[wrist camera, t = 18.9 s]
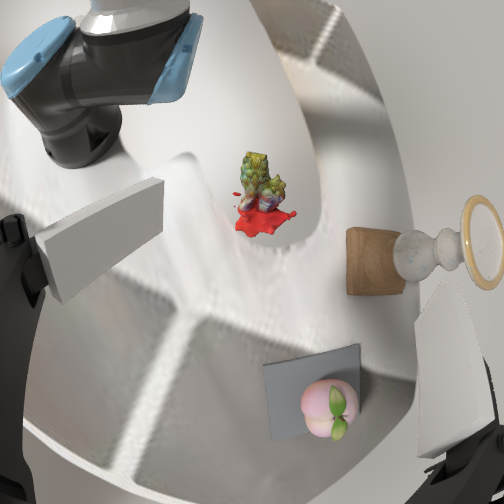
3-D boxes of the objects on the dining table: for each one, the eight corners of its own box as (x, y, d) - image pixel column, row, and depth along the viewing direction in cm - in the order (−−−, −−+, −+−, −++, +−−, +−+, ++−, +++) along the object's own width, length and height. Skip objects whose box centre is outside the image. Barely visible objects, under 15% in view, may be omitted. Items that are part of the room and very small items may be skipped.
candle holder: (395, 233, 45) (501, 200, 21) (396, 294, 43) (509, 291, 20) (345, 228, 43) (456, 180, 20) (346, 295, 42) (466, 297, 18)
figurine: (244, 205, 45) (262, 139, 38) (293, 237, 42) (321, 168, 34) (210, 221, 40) (224, 145, 32) (263, 260, 36) (290, 179, 28)
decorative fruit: (344, 405, 38) (376, 429, 29) (300, 426, 37) (324, 457, 27) (332, 360, 39) (366, 377, 29) (285, 381, 37) (309, 406, 28)
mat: (271, 439, 36) (272, 441, 36) (262, 364, 38) (263, 366, 37) (357, 414, 39) (359, 415, 39) (356, 343, 41) (358, 344, 40)
